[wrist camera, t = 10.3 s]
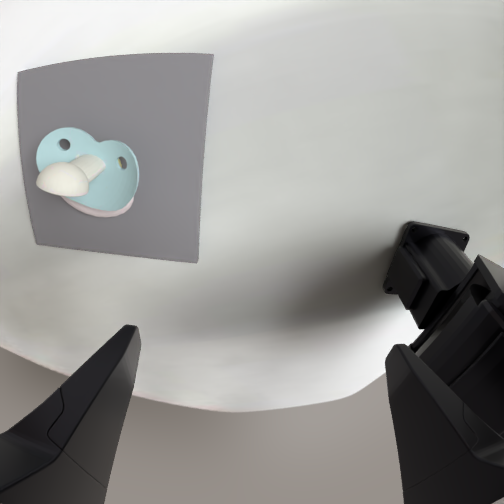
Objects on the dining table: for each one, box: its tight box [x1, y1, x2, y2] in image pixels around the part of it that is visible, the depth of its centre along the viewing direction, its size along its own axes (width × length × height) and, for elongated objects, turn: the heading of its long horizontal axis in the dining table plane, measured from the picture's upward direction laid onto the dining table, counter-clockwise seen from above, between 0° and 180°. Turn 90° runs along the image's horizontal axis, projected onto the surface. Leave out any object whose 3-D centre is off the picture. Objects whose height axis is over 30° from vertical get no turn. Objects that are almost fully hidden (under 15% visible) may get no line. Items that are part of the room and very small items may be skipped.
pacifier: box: [36, 127, 139, 217], centre depth 15 cm, size 7×6×6 cm
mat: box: [17, 53, 214, 263], centre depth 18 cm, size 14×14×1 cm
